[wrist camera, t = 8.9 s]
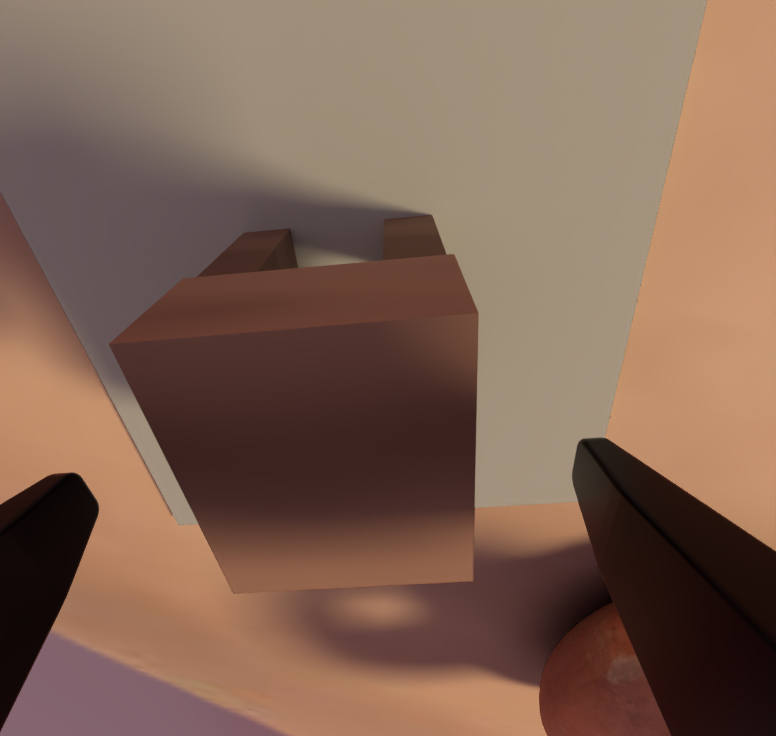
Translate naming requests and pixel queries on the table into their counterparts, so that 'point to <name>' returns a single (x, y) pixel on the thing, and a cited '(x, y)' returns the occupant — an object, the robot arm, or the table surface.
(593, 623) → the ceramic jug
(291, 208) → the sage mat
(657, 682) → the robot arm
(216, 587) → the table surface
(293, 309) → the walnut stool
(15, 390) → the table surface
